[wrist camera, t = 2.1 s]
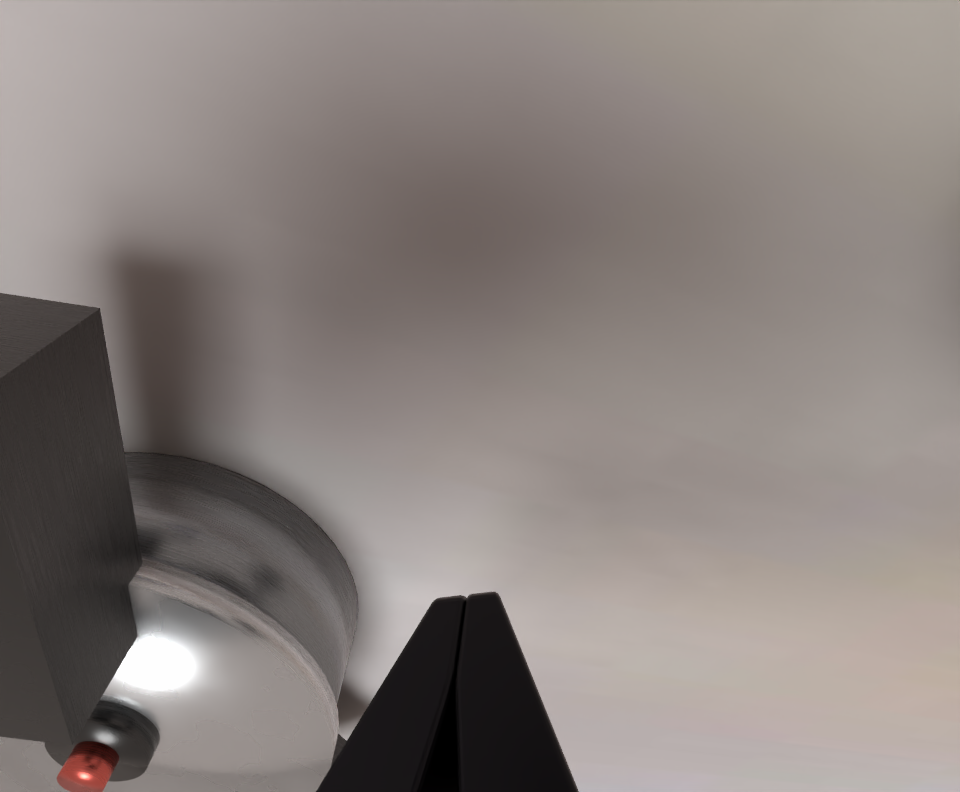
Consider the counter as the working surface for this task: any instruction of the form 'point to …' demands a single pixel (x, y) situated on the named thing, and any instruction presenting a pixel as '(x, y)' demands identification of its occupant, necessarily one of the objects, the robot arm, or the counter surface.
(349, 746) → the robot arm
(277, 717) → the lid
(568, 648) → the counter surface
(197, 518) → the grey round flat pan
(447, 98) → the counter surface
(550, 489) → the counter surface
